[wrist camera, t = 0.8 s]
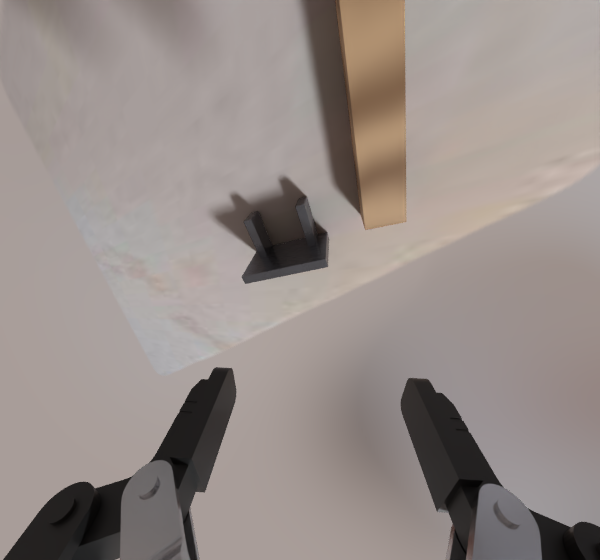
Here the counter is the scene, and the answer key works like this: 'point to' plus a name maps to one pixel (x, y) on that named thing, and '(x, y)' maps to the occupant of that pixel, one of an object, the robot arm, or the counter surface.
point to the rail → (376, 104)
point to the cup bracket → (286, 248)
